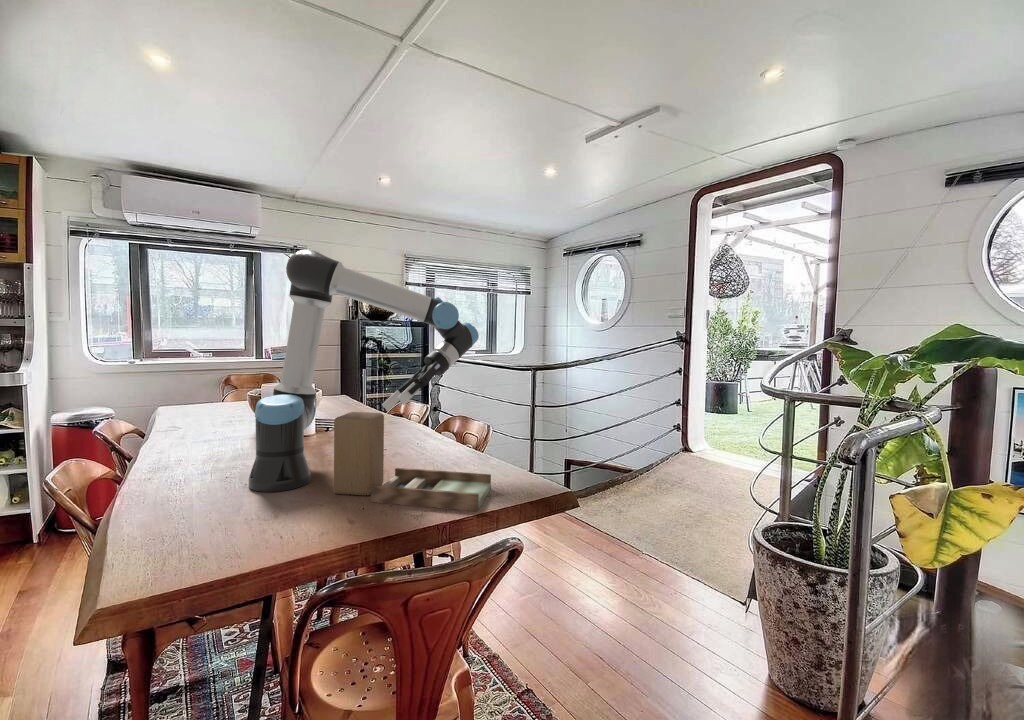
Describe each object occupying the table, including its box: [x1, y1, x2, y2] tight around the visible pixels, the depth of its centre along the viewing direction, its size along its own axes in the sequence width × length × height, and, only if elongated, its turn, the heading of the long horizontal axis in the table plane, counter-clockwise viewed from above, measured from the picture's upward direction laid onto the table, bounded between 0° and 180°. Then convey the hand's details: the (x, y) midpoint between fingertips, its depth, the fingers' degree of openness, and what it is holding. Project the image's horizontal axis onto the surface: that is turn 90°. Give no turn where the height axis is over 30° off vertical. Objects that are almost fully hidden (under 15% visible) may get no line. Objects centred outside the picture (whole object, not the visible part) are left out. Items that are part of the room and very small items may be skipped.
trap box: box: [370, 467, 492, 512], centre depth 119 cm, size 27×16×4 cm, turn 81°
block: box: [333, 411, 385, 496], centre depth 121 cm, size 10×10×20 cm
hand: (392, 404), depth 131 cm, fingers open, 13 cm apart
